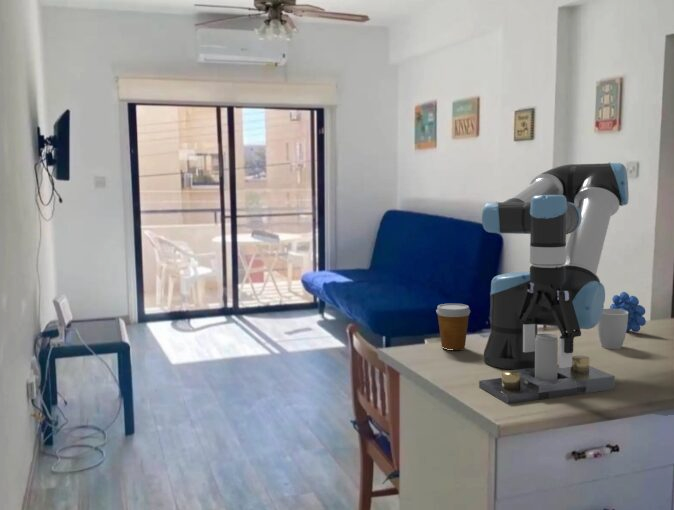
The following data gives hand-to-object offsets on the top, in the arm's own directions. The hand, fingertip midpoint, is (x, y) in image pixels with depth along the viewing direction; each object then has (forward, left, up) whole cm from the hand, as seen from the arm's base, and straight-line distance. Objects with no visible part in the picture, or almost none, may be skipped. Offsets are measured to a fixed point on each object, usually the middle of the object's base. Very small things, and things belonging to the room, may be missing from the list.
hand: (546, 359), depth 145 cm
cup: (-24, +38, -7) cm, 45 cm away
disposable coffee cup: (-39, -3, -7) cm, 40 cm away
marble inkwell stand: (0, 0, -7) cm, 7 cm away
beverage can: (0, 0, -7) cm, 7 cm away
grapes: (-37, +54, -7) cm, 66 cm away
